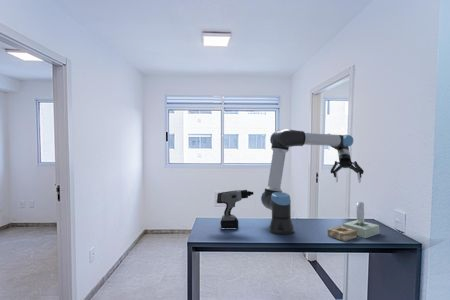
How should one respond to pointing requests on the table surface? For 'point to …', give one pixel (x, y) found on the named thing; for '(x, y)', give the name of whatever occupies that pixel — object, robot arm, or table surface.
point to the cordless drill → (231, 206)
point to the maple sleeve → (342, 233)
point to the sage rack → (363, 229)
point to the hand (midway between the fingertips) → (348, 181)
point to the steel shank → (360, 214)
